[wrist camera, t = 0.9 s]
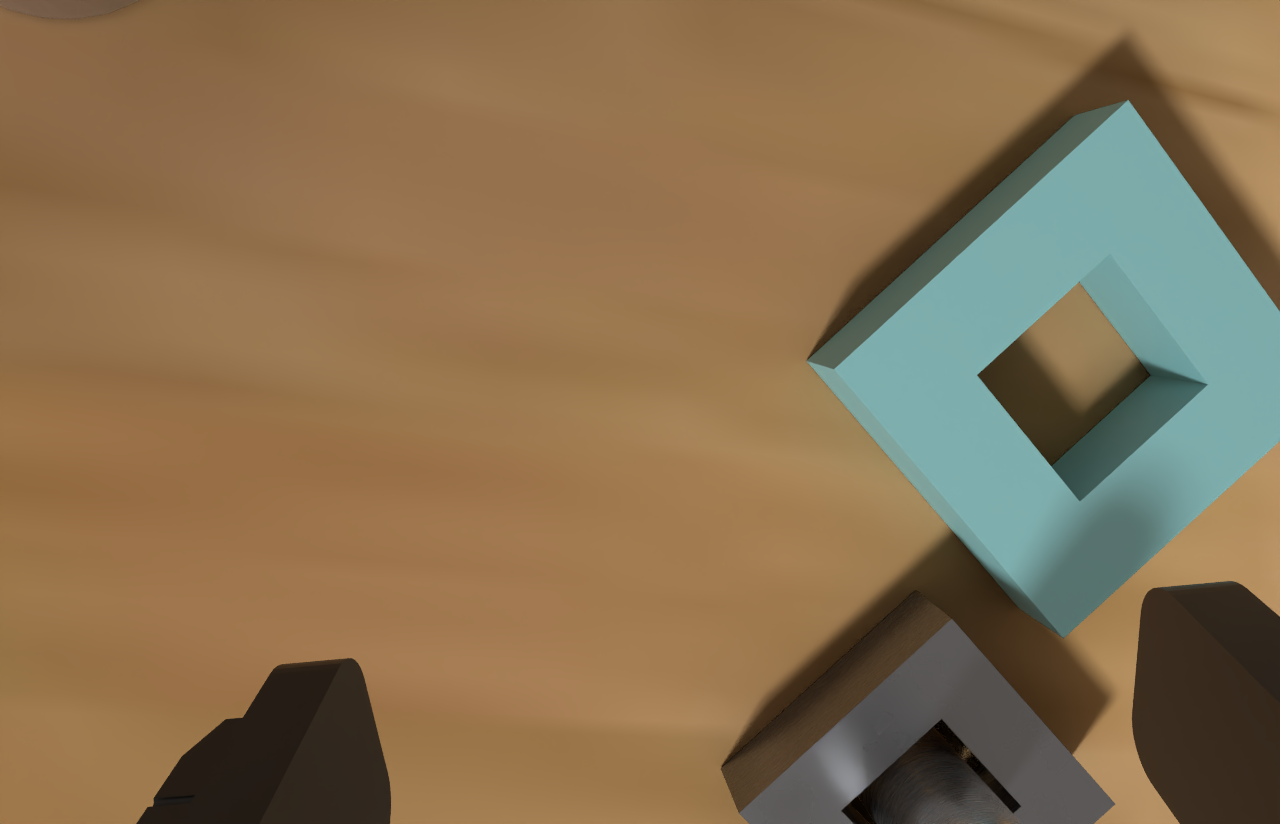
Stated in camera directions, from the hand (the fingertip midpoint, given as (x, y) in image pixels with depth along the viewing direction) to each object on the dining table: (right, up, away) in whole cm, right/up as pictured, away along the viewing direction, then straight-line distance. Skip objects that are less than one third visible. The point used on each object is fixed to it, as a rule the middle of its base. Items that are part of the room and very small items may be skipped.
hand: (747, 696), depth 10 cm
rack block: (+14, +4, +25) cm, 29 cm away
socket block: (+9, -11, +27) cm, 30 cm away
